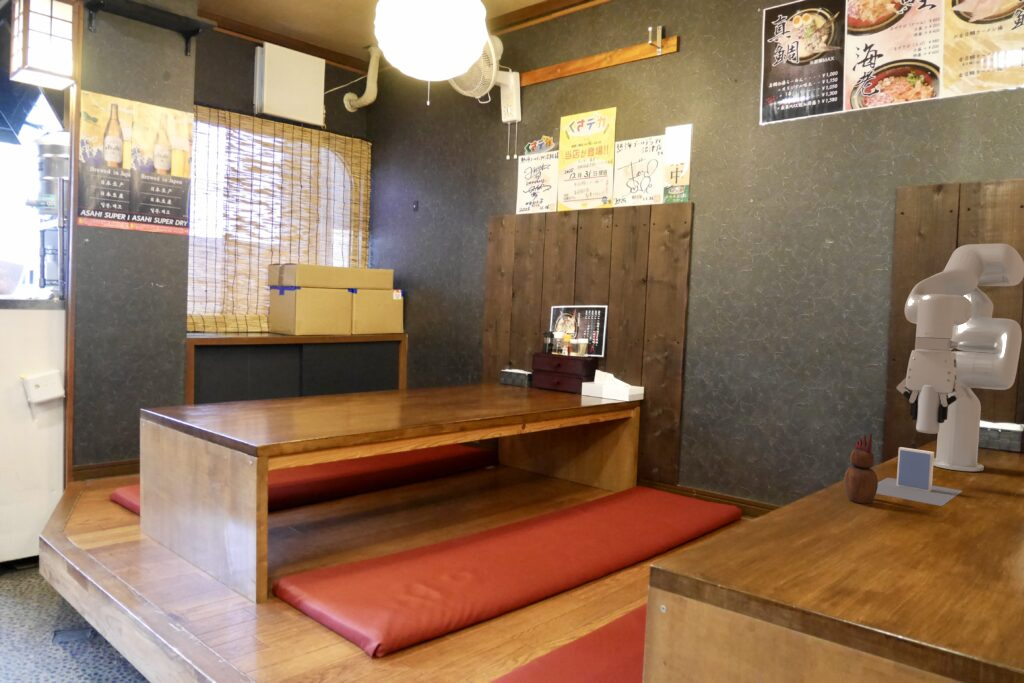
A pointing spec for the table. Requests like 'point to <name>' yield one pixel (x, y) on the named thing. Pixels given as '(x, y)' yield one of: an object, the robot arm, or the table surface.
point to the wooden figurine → (861, 473)
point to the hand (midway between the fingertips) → (928, 420)
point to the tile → (915, 469)
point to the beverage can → (928, 410)
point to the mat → (916, 493)
